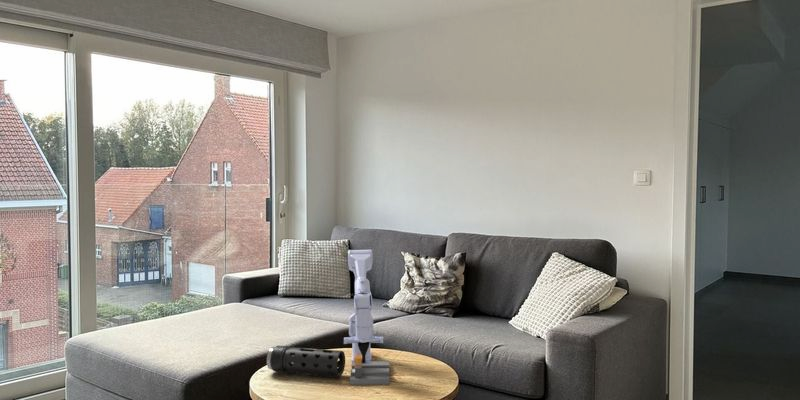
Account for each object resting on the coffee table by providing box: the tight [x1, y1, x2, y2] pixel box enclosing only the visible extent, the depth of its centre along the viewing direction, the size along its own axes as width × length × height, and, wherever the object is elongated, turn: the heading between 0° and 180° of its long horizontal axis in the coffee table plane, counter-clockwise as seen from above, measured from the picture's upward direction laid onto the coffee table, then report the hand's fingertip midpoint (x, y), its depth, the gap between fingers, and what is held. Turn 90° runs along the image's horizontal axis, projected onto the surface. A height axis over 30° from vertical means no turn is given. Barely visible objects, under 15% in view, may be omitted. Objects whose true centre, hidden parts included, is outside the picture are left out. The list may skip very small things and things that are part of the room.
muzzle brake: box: [266, 345, 346, 379], centre depth 226 cm, size 10×28×10 cm, turn 76°
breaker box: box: [349, 357, 390, 386], centre depth 225 cm, size 20×14×6 cm
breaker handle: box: [353, 354, 362, 365], centre depth 225 cm, size 4×3×5 cm
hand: (363, 362), depth 225 cm, fingers closed
